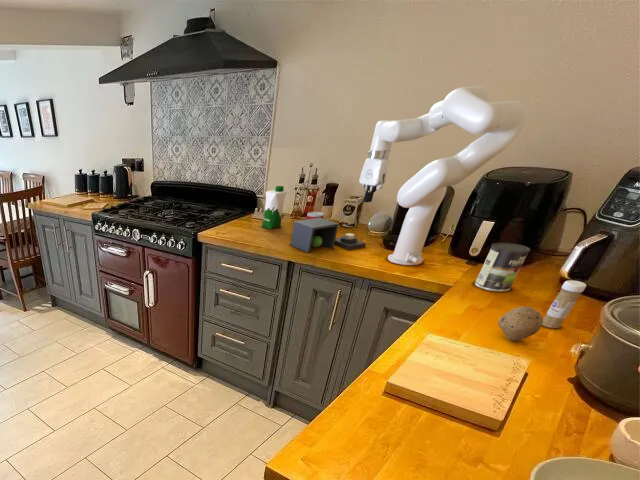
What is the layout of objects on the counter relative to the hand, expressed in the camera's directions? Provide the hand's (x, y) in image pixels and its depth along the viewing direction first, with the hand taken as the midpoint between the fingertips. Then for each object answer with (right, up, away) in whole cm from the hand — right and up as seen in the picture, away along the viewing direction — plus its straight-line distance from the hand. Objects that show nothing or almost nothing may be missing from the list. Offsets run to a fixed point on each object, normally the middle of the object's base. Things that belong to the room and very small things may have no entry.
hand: (367, 201), depth 182 cm
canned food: (-14, -7, +25) cm, 29 cm away
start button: (-3, -13, +9) cm, 16 cm away
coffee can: (+25, -46, -34) cm, 63 cm away
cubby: (-20, -16, +12) cm, 28 cm away
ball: (-18, -15, +10) cm, 25 cm away
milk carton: (-28, +5, +43) cm, 51 cm away
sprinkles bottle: (+21, -64, -59) cm, 89 cm away
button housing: (-3, -16, +11) cm, 19 cm away
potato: (+4, -69, -64) cm, 94 cm away
